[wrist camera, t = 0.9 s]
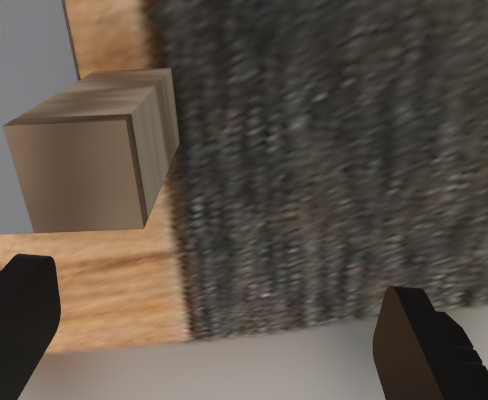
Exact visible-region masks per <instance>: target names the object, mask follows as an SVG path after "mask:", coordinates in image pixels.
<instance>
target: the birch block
mask: <svg viewBox="0 0 488 400" xmlns="http://www.w3.org/2000/svg"><path fill="white" fill-rule="evenodd" d="M3 130H4V133H5V136H6V140H7V143H8V147H9V150H10V153H11V157H12V160H13V164H14V167H15V170H16V174H17V177H18V180H19V184H20V187H21V191H22V194H23V197H24V201H25V204H26V208H27V211H28V214H29V218H30V221H31V224H32V228H33V231H34V233H52V232H78V231H103V230H129V229H144V227H145V225H146V223H147V220H148V218H149V215H150V213H151V211H152V208H153V206H154V203H155V201H156V198H157V196H158V194H159V191H160V189H161V186H162V184H163V182H164V179H165V177H166V174H167V172H168V170H169V167H170V165H171V162H172V160H173V158H174V155H175V153H176V150H177V148H178V145H179V143H180V140H179V131H178V122H177V114H176V105H175V96H174V88H173V79H172V71H171V68H162V69H141V70H120V71H99V72H93V73H91V74H89V75H88V76H86V77H84V78H83V79H81V80H79V81H78V82H76V83H74V84H73V85H71V86H69V87H67V88H66V89H64V90H62V91H61V92H59V93H57V94H56V95H54V96H52V97H51V98H49V99H47V100H45V101H44V102H42V103H40V104H39V105H37V106H35V107H34V108H32V109H30V110H29V111H27V112H25V113H23V114H22V115H20V116H18V117H17V118H15V119H13V120H12V121H10V122H8V123H7V124H5V125H3Z"/></svg>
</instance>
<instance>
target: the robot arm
mask: <svg viewBox="0 0 488 400" xmlns="http://www.w3.org/2000/svg"><path fill="white" fill-rule="evenodd" d="M60 315H61V305H60V297H59V290H58V282H57V274H56V266H55V262H54V259H53V258H52V257H51V256H40V255H28V254H17V255H15V256H14V257H13V258H12V259H11V260H10V262H9V263H8V264H7V265H6V266H5V267H4V268H3V269H2V270H1V272H0V400H17V399H18V397H19V396H20V394H21V392H22V391H23V389H24V387H25V385H26V384H27V382H28V380H29V378H30V377H31V375H32V373H33V371H34V370H35V368H36V366H37V365H38V363H39V361H40V359H41V358H42V356H43V354H44V353H45V351H46V349H47V347H48V346H49V344H50V342H51V340H52V339H53V337H54V335H55V333H56V331H57V328H58V325H59V321H60ZM373 357H374V362H375V365H376V369H377V371H378V375H379V379H380V382H381V385H382V388H383V392H384V395H385V398H386V400H488V370H487V369H486V367H485V366H483V365H482V360H481V359H480V357H479V355H478V353H477V352H476V350H473V345H472V343H471V342H470V340H469V338H468V336H467V335H466V333H465V332H464V330H463V328H462V327H460V325H458V324H457V323H456V322H455V321H454V320H453V319H452V318H451V317H450V316H448V315H447V314H446V313H445V312H438V311H435V309H434V307H433V306H432V304H431V302H430V300H429V298H428V296H427V294H426V293H425V291H424V290H423V289H420V288H408V287H396V286H389V287H388V288H387V290H386V292H385V296H384V299H383V303H382V307H381V310H380V314H379V317H378V321H377V325H376V328H375V332H374V336H373Z"/></svg>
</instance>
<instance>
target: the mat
mask: <svg viewBox="0 0 488 400" xmlns="http://www.w3.org/2000/svg"><path fill="white" fill-rule="evenodd" d="M79 80H80V77H79V72H78V67H77V62H76V58H75V53H74V48H73V43H72V38H71V33H70V28H69V24H68V19H67V14H66V9H65V4H64V0H0V234H23V233H34V231H33V228H32V224H31V221H30V218H29V214H28V211H27V208H26V204H25V201H24V197H23V194H22V191H21V187H20V184H19V180H18V177H17V174H16V170H15V167H14V164H13V160H12V157H11V153H10V150H9V147H8V143H7V140H6V136H5V133H4V130H3V125H5V124H7V123H8V122H10V121H12V120H13V119H15V118H17V117H18V116H20V115H22V114H23V113H25V112H27V111H29V110H30V109H32V108H34V107H35V106H37V105H39V104H40V103H42V102H44V101H45V100H47V99H49V98H51V97H52V96H54V95H56V94H57V93H59V92H61V91H62V90H64V89H66V88H67V87H69V86H71V85H73V84H74V83H76V82H78V81H79Z"/></svg>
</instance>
